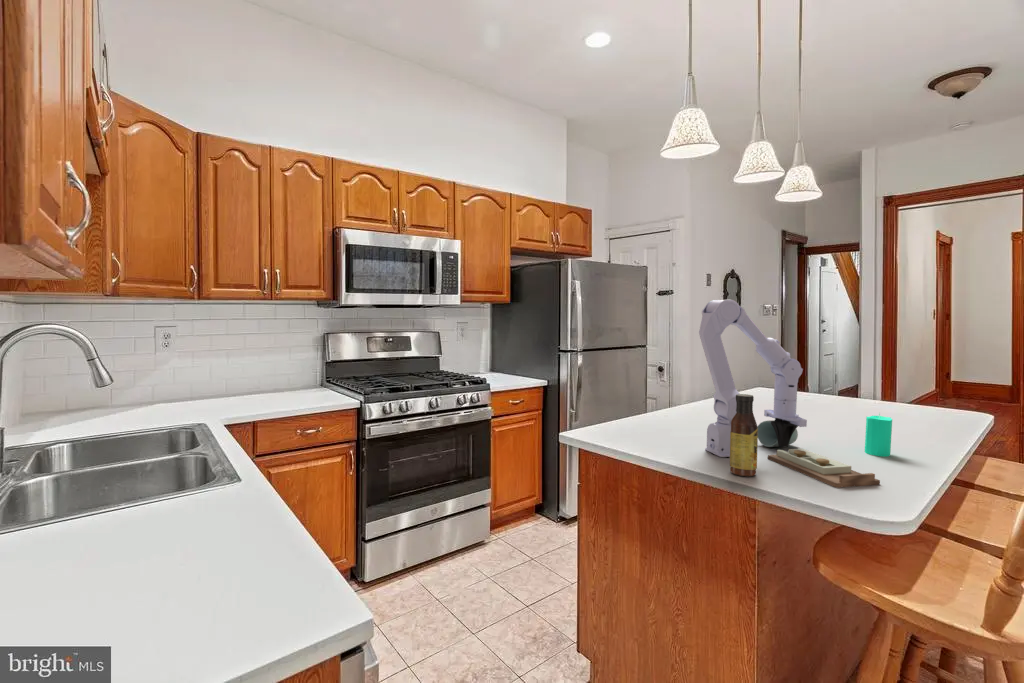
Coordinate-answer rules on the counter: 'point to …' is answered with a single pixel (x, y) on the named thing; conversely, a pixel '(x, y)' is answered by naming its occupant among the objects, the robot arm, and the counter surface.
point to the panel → (814, 462)
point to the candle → (878, 435)
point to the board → (831, 479)
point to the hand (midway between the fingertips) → (783, 446)
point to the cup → (771, 435)
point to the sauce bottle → (743, 438)
